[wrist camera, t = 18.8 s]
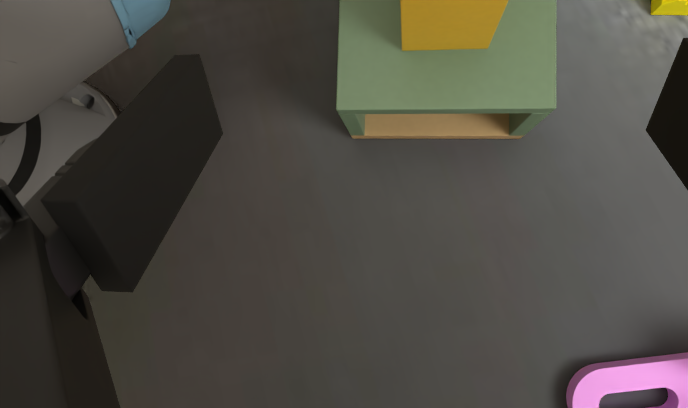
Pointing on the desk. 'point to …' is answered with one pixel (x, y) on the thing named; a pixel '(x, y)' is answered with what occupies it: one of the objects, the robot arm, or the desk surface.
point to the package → (449, 23)
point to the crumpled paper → (669, 7)
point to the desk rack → (445, 76)
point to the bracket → (631, 380)
